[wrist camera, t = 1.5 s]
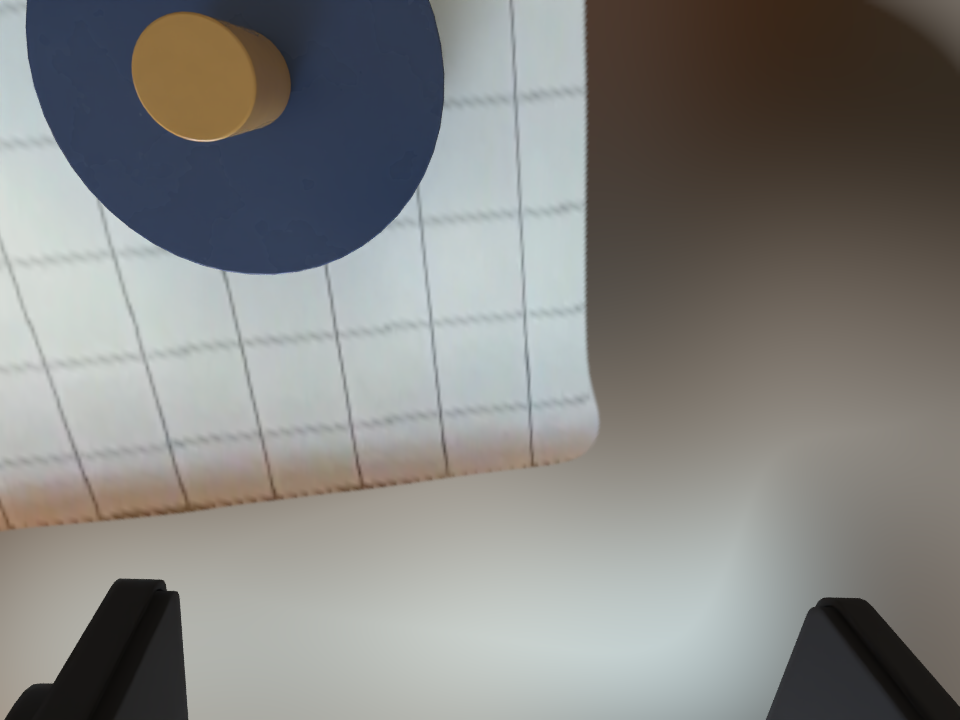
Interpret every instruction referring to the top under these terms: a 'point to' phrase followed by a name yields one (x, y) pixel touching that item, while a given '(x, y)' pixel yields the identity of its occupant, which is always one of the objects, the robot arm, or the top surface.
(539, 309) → the top surface
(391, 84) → the tin lid
